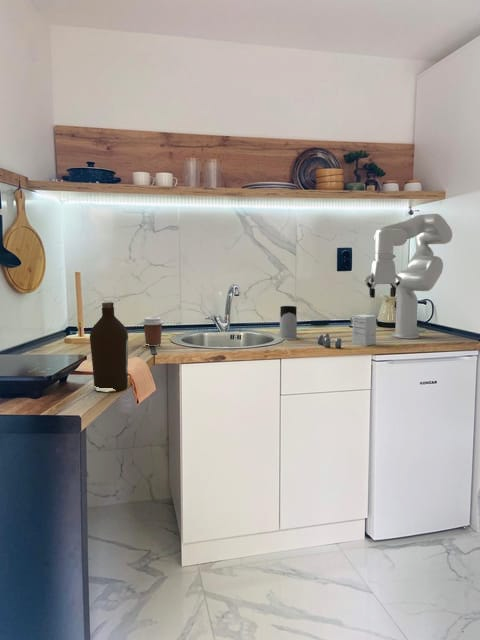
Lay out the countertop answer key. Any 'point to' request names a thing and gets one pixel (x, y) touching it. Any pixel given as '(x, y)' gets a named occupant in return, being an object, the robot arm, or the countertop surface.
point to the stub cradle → (328, 341)
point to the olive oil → (109, 351)
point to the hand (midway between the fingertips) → (382, 297)
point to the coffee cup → (153, 330)
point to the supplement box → (364, 329)
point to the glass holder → (288, 322)
